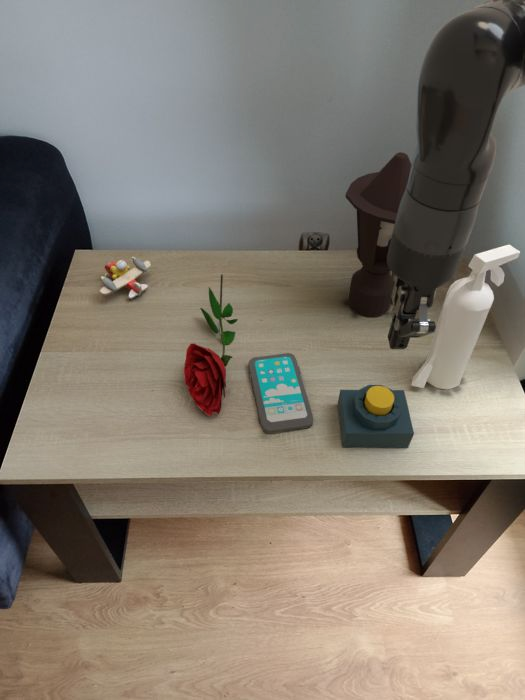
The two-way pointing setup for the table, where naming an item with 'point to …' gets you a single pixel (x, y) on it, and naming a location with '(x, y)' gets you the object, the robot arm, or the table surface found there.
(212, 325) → the flower
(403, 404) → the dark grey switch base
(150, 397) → the table surface
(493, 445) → the table surface
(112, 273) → the toy airplane
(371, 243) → the lantern
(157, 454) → the table surface
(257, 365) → the smartphone
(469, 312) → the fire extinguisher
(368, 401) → the button
